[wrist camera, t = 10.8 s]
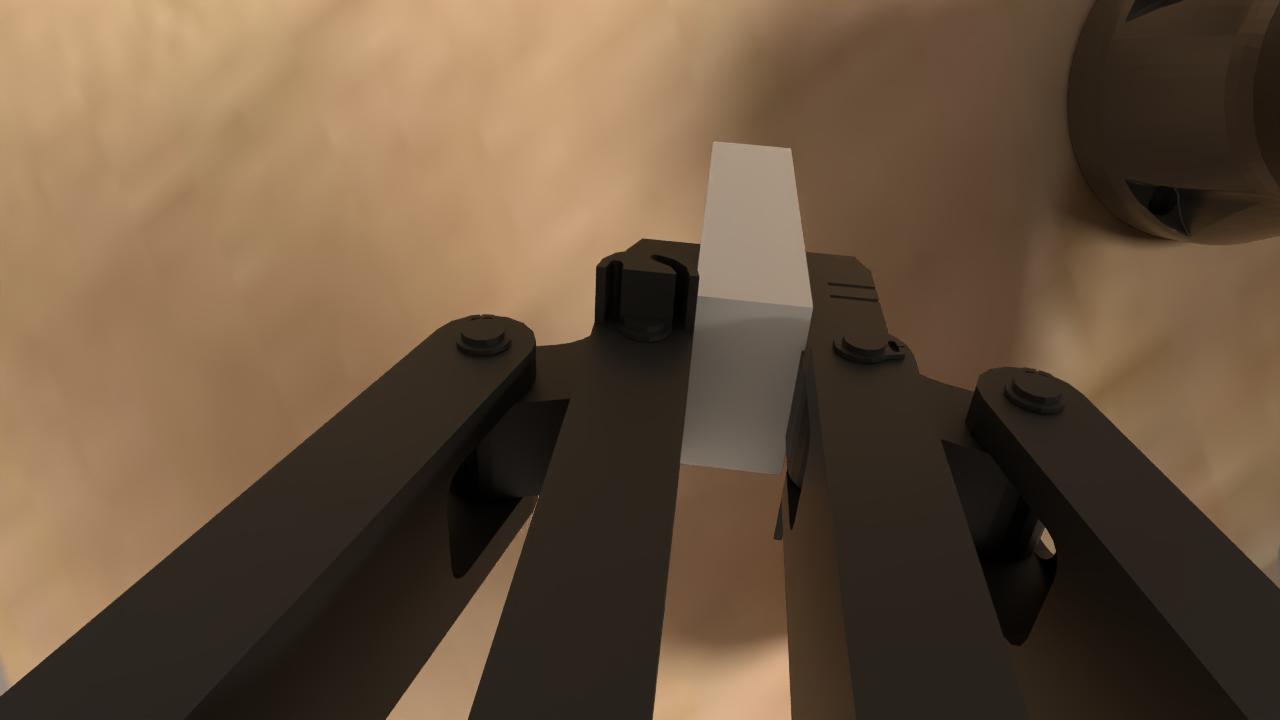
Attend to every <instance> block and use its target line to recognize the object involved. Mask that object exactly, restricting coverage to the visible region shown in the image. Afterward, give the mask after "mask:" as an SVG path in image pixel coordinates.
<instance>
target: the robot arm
mask: <svg viewBox="0 0 1280 720" xmlns="http://www.w3.org/2000/svg"><path fill="white" fill-rule="evenodd" d="M1068 115H1069V126H1070V134H1071V139H1072V144H1073V147H1074V151H1075V155H1076V157H1077V160H1078V163H1079V166H1080V168H1081V170H1082V172H1083V175H1084V177H1085V178H1086V180H1087V182H1088V184H1089V185H1090V187H1091V188H1092V190H1093V191H1094V193H1095V194H1096V196H1097V197H1098V198H1099V199H1100V201H1101V202H1102V203H1103V204H1104V205H1105V206H1106V207H1107V208H1108V209H1109V210H1110V211H1111V212H1112V213H1113V214H1115V215H1116V216H1117V217H1118V218H1120V219H1121V220H1123V221H1124V222H1125V223H1127V224H1129V225H1131V226H1132V227H1134V228H1136V229H1138V230H1140V231H1143V232H1145V233H1148V234H1151V235H1154V236H1158V237H1162V238H1167V239H1173V240H1179V241H1184V242H1190V243H1196V244H1205V245H1231V244H1241V243H1248V242H1253V241H1257V240H1262V239H1267V238H1271V237H1276V236H1280V0H1097V2H1096V4H1095V5H1094V7H1093V9H1092V11H1091V13H1090V15H1089V17H1088V19H1087V21H1086V24H1085V26H1084V29H1083V31H1082V34H1081V36H1080V39H1079V42H1078V45H1077V49H1076V52H1075V56H1074V60H1073V65H1072V69H1071V76H1070V82H1069V94H1068ZM878 300H879V299H878V296H877V292H876V290H875V285H874V282H873V278H872V275H871V272H870V271H869V270H868V269H867V268H866V267H865V266H864V265H863V264H861V263H860V262H859V261H858V260H857V259H856V258H855V257H850V256H839V255H829V254H819V253H809V252H805V246H804V239H803V232H802V224H801V217H800V210H799V203H798V196H797V189H796V181H795V174H794V167H793V160H792V153H791V148H783V147H772V146H761V145H750V144H739V143H727V142H716V141H713V147H712V156H711V164H710V172H709V180H708V188H707V197H706V205H705V213H704V221H703V230H702V238H701V244H693V243H683V242H672V241H662V240H652V239H641V240H640V241H639V242H637V243H636V244H634V245H633V246H632V247H630V248H629V249H627V250H626V251H624V252H618V253H615V254H612V255H610V256H608V257H605V258H603V259H602V260H601V262H600V263H599V264H598V265H597V266H596V295H595V323H594V326H593V329H592V332H591V336H589V337H586V338H584V339H582V340H579V341H575V342H572V343H566V344H559V345H549V346H536V340H535V337H534V333H533V331H532V330H531V329H529V328H528V327H527V326H526V325H525V324H524V323H521V322H519V321H516V320H513V319H511V318H508V317H500V316H495V315H485V314H482V316H480V315H472V316H468V317H465V318H462V319H458V320H454V321H451V322H449V323H448V324H446V325H444V326H442V327H441V328H439V329H437V330H436V331H435V332H434V333H433V334H431V335H430V336H429V337H428V338H427V339H425V340H424V341H423V342H422V343H421V344H419V345H418V346H417V347H416V348H415V349H414V350H412V351H411V352H410V353H409V354H408V355H406V356H405V357H404V358H403V359H402V360H400V361H399V362H398V363H397V364H396V365H394V366H393V367H392V368H391V369H390V370H389V371H387V372H386V373H385V374H384V375H383V376H381V377H380V378H379V379H378V380H377V381H375V382H374V383H373V384H372V385H371V386H369V387H368V388H367V389H366V390H365V391H364V392H362V393H361V394H360V395H359V396H358V397H356V398H355V399H354V400H353V401H352V402H350V403H349V404H348V405H347V406H346V407H344V408H343V409H342V410H341V411H340V412H339V413H337V414H336V415H335V416H334V417H333V418H331V419H330V420H329V421H328V422H327V423H325V424H324V425H323V426H322V427H321V428H319V429H318V430H317V431H316V432H315V433H314V434H312V435H311V436H310V437H309V438H308V439H306V440H305V441H304V442H303V443H302V444H300V445H299V446H298V447H297V448H296V449H294V450H293V451H292V452H291V453H290V454H289V455H287V456H286V457H285V458H284V459H283V460H281V461H280V462H279V463H278V464H277V465H275V466H274V467H273V468H272V469H271V470H270V471H268V472H267V473H266V474H265V475H264V476H262V477H261V478H260V479H259V480H258V481H256V482H255V483H254V484H253V485H252V486H250V487H249V488H248V489H247V490H246V491H245V492H243V493H242V494H241V495H240V496H239V497H237V498H236V499H235V500H234V501H233V502H231V503H230V504H229V505H228V506H227V507H225V508H224V509H223V510H222V511H221V512H220V513H218V514H217V515H216V516H215V517H214V518H212V519H211V520H210V521H209V522H208V523H206V524H205V525H204V526H203V527H202V528H200V529H199V530H198V531H197V532H196V533H195V534H193V535H192V536H191V537H190V538H189V539H187V540H186V541H185V542H184V543H183V544H181V545H180V546H179V547H178V548H177V549H175V550H174V551H173V552H172V553H171V554H170V555H168V556H167V557H166V558H165V559H164V560H162V561H161V562H160V563H159V564H158V565H156V566H155V567H154V568H153V569H152V570H150V571H149V572H148V573H147V574H146V575H145V576H143V577H142V578H141V579H140V580H139V581H137V582H136V583H135V584H134V585H133V586H131V587H130V588H129V589H128V590H127V591H125V592H124V593H123V594H122V595H121V596H120V597H118V598H117V599H116V600H115V601H114V602H112V603H111V604H110V605H109V606H108V607H106V608H105V609H104V610H103V611H102V612H100V613H99V614H98V615H97V616H96V617H95V618H93V619H92V620H91V621H90V622H89V623H87V624H86V625H85V626H84V627H83V628H81V629H80V630H79V631H78V632H77V633H75V634H74V635H73V636H72V637H71V638H70V639H68V640H67V641H66V642H65V643H64V644H62V645H61V646H60V647H59V648H58V649H56V650H55V651H54V652H53V653H52V654H50V655H49V656H48V657H47V658H46V659H45V660H43V661H42V662H41V663H40V664H39V665H37V666H36V667H35V668H34V669H33V670H31V671H30V672H29V673H28V674H27V675H25V676H24V677H23V678H22V679H21V680H20V681H18V682H17V683H16V684H15V685H14V686H12V687H11V688H10V689H9V690H8V691H6V692H5V693H4V694H3V695H2V696H0V720H386V718H387V717H388V715H389V714H390V713H391V711H392V710H393V708H394V707H395V705H396V704H397V703H398V701H399V700H400V698H401V697H402V696H403V694H404V693H405V691H406V690H407V689H408V687H409V686H410V684H411V683H412V681H413V680H414V679H415V677H416V676H417V674H418V673H419V672H420V670H421V669H422V667H423V666H424V665H425V663H426V662H427V660H428V659H429V657H430V656H431V655H432V653H433V652H434V650H435V649H436V648H437V646H438V645H439V643H440V642H441V641H442V639H443V638H444V636H445V635H446V633H447V632H448V631H449V629H450V628H451V626H452V625H453V624H454V622H455V621H456V619H457V618H458V617H459V615H460V614H461V612H462V611H463V609H464V608H465V607H466V605H467V604H468V602H469V601H470V600H471V598H472V597H473V595H474V594H475V593H476V591H477V590H478V588H479V587H480V585H481V584H482V583H483V581H484V580H485V578H486V577H487V576H488V574H489V573H490V571H491V570H492V569H493V567H494V566H495V564H496V563H497V561H498V560H499V559H500V557H501V556H502V554H503V553H504V552H505V550H506V549H507V547H508V546H509V544H510V543H511V542H512V540H513V539H514V537H515V536H516V535H517V533H518V532H519V530H520V529H521V528H522V526H523V525H524V523H525V522H526V520H527V519H528V518H529V516H530V515H531V513H532V512H533V510H534V507H535V505H536V502H537V500H538V502H537V505H536V508H535V511H534V514H533V517H532V520H531V523H530V527H529V530H528V533H527V536H526V539H525V542H524V545H523V549H522V552H521V555H520V558H519V561H518V564H517V567H516V570H515V574H514V577H513V580H512V583H511V586H510V589H509V592H508V596H507V599H506V602H505V605H504V608H503V611H502V614H501V617H500V621H499V624H498V627H497V630H496V633H495V636H494V639H493V643H492V646H491V649H490V652H489V655H488V658H487V661H486V664H485V668H484V671H483V674H482V677H481V680H480V683H479V686H478V689H477V693H476V696H475V699H474V702H473V705H472V708H471V711H470V715H469V718H468V720H653V711H654V702H655V693H656V683H657V674H658V665H659V655H660V646H661V637H662V627H663V618H664V609H665V599H666V590H667V581H668V572H669V562H670V553H671V544H672V534H673V525H674V516H675V506H676V497H677V488H678V478H679V469H680V464H686V465H695V466H704V467H712V468H721V469H730V470H738V471H747V472H756V473H764V474H773V475H782V470H783V464H784V459H785V454H786V456H787V472H786V477H785V483H784V488H783V493H782V498H781V503H780V509H779V514H778V519H777V524H776V529H775V534H774V539H776V540H782V537H783V542H784V564H785V586H786V607H787V629H788V651H789V673H790V695H791V717H792V720H1280V589H1279V588H1278V587H1277V586H1276V585H1275V584H1274V583H1273V582H1272V581H1271V580H1270V579H1269V578H1268V577H1267V576H1266V575H1265V574H1264V573H1263V572H1262V571H1261V570H1260V569H1259V568H1258V567H1257V566H1256V565H1255V564H1254V563H1253V562H1252V561H1251V560H1250V559H1249V558H1248V557H1247V556H1246V555H1245V554H1244V553H1243V552H1242V551H1241V550H1240V549H1239V548H1238V547H1237V546H1236V545H1235V544H1234V543H1233V542H1232V541H1231V540H1230V539H1229V538H1228V537H1227V536H1226V535H1225V534H1224V533H1223V532H1222V531H1221V530H1220V529H1219V528H1218V527H1217V526H1216V525H1215V524H1214V523H1213V522H1212V521H1211V520H1210V519H1209V518H1208V517H1207V516H1206V515H1205V514H1204V513H1202V512H1201V511H1200V510H1199V509H1198V508H1197V507H1196V506H1195V505H1194V504H1193V503H1192V502H1191V501H1190V500H1189V499H1188V498H1187V497H1186V496H1185V495H1184V494H1183V493H1182V492H1181V491H1180V490H1179V489H1178V488H1177V487H1176V486H1175V485H1174V484H1173V483H1172V482H1171V481H1170V480H1169V479H1168V478H1167V477H1166V476H1165V475H1164V474H1163V473H1162V472H1161V471H1160V470H1159V469H1158V468H1157V467H1156V466H1155V465H1154V464H1153V463H1152V462H1151V461H1150V460H1149V459H1148V458H1147V457H1146V456H1145V455H1144V454H1143V453H1142V452H1141V451H1140V450H1139V449H1138V448H1137V447H1136V446H1135V445H1134V444H1133V443H1132V442H1131V441H1130V440H1129V439H1128V438H1127V437H1126V436H1125V435H1124V434H1123V433H1122V432H1121V431H1120V430H1119V429H1118V428H1117V427H1116V426H1115V425H1114V424H1113V423H1112V422H1111V421H1110V420H1109V419H1108V418H1107V417H1106V416H1104V415H1103V414H1102V413H1101V412H1100V411H1099V410H1098V409H1097V408H1096V407H1095V406H1094V405H1093V404H1092V403H1091V402H1090V401H1089V400H1088V399H1087V398H1086V397H1085V396H1084V395H1083V394H1082V393H1080V392H1079V391H1078V390H1076V389H1075V388H1074V387H1072V386H1071V385H1070V384H1068V383H1066V382H1064V381H1062V380H1060V379H1058V378H1055V377H1053V376H1052V375H1051V374H1049V373H1046V372H1043V371H1040V370H1039V371H1036V369H1030V368H1014V367H1002V368H996V369H990V370H988V371H987V372H985V373H983V374H982V375H980V376H979V379H978V382H977V385H976V388H975V391H974V392H972V391H968V390H965V389H961V388H958V387H954V386H951V385H947V384H944V383H941V382H938V381H935V380H932V379H929V378H927V377H925V376H923V375H921V374H920V373H919V370H918V367H917V364H916V361H915V358H914V355H913V354H912V352H911V351H910V349H909V348H908V346H907V345H906V344H904V343H903V342H901V341H900V340H899V339H897V338H896V337H894V336H892V335H890V334H888V330H887V327H886V323H885V320H884V317H883V313H882V310H881V306H880V303H878ZM538 495H539V498H538ZM1044 528H1046V529H1047V530H1048V532H1049V534H1050V536H1051V538H1052V539H1053V542H1054V545H1055V549H1056V553H1055V554H1054V555H1053V554H1052V553H1051V552H1050V551H1049V550H1048V549H1047V547H1046V546H1045V545H1044V543H1043V542H1042V541H1041V539H1040V538H1041V536H1042V533H1043V531H1044ZM1277 561H1278V573H1279V578H1280V545H1279V550H1278V559H1277Z"/></svg>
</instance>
